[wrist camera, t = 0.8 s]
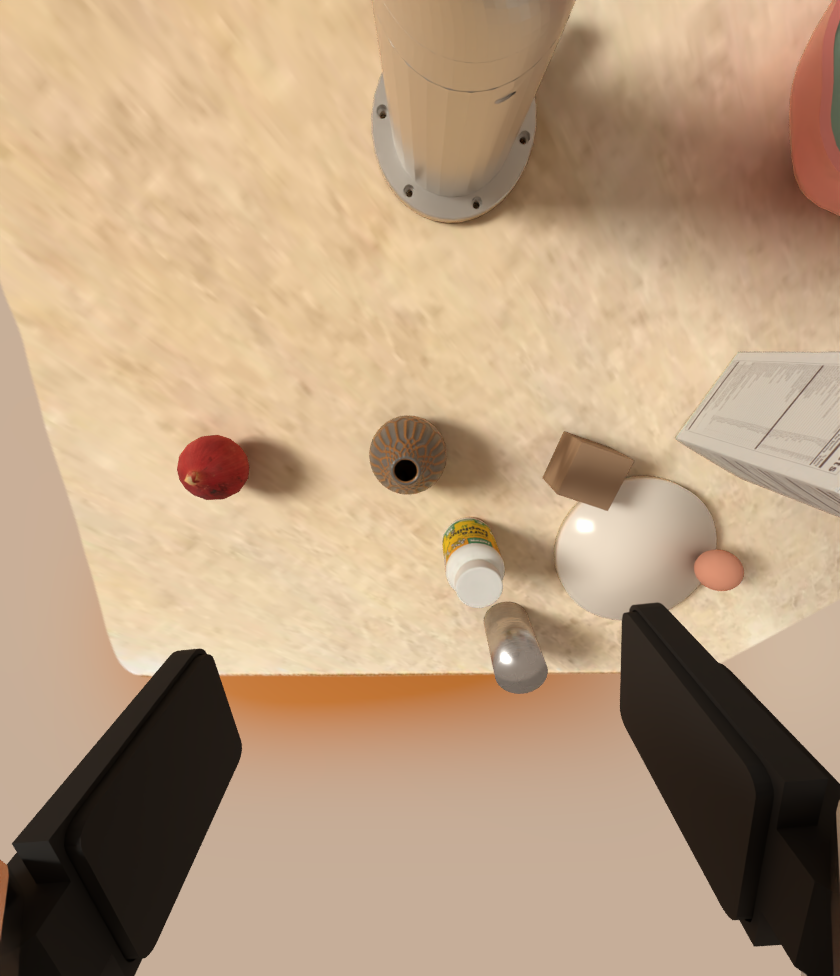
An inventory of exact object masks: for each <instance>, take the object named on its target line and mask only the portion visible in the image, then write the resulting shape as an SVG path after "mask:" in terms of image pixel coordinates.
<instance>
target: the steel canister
mask: <svg viewBox="0 0 840 976" xmlns="http://www.w3.org/2000/svg"><path fill="white" fill-rule="evenodd" d="M484 627H485V632H486V636H487V641H488V646H489V651H490V655H491V660H492V665H493V669H494V674H495V679H496V681H497V683H498V684H499V686H500V687H501V688H503V689H504V690H506V691H508V692H511V693H517V694H521V693H528V692H531V691H533V690H535V689H537V688H538V687H540V686H541V685H542V684H543V683H544V681H545V679H546V677H547V673H548V669H547V665H546V662H545V660H544V657H543V654H542V652H541V649H540V647H539V644H538V641H537V639H536V636H535V633H534V631H533V628H532V626H531V623H530V620H529V618H528V615H527V613H526V611H525V610H524V608H523V607H521V606H520V605H518V604H516V603H513V602H501V603H498V604H496V605H494V606H492V607H491V608H490V609H489V610H488V611H487V612H486V614H485V617H484Z"/></svg>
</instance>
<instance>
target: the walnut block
mask: <svg viewBox="0 0 840 976" xmlns="http://www.w3.org/2000/svg"><path fill="white" fill-rule="evenodd" d="M633 462H634V460H632V459H630V458H629V457H627V456H625V455H623V454H621V453H619V452H618V451H616V450H614V449H612V448H610V447H607V446H604V445H601V444H599V443H596V442H593V441H590V440H587V439H585V438H582V437H579V436H576V435H573V434H570V433H568V432H565V431H564V432H563V434H562V437H561V439H560V441H559V443H558V445H557V447H556V450H555V452H554V454H553V456H552V458H551V461H550V463H549V465H548V467H547V469H546V471H545V474H544V476H543V479H544V480H545V481H546V482H547V483H548V485H549V486H550V487H551V488H552V489H553V490H554V491H555V492H556V493H557V494H558V495H561V496H564V497H567V498H570V499H573V500H576V501H579V502H582V503H585V504H588V505H591V506H594V507H597V508H600V509H603V510H605V511H608V510H609V508H610V506H611V504H612V502H613V500H614V499H615V497H616V495H617V493H618V491H619V489H620V487H621V485H622V483H623V481H624V479H625V478H626V476H627V474H628V472H629V470H630V468H631V466H632V464H633Z"/></svg>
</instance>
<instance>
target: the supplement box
mask: <svg viewBox="0 0 840 976" xmlns="http://www.w3.org/2000/svg"><path fill="white" fill-rule="evenodd" d="M675 439H676V440H677V441H679V442H680V443H682V444H683V445H685V446H687V447H688V448H690V449H691V450H693V451H695V452H696V453H698V454H699V455H701V456H703V457H704V458H706V459H708V460H709V461H711V462H713V463H715V464H716V465H718V466H720V467H721V468H723V469H725V470H726V471H728V472H730V473H732V474H734V475H735V476H737V477H739V478H741V479H743V480H745V481H748V482H751V483H753V484H756V485H759V486H761V487H764V488H766V489H769V490H771V491H774V492H776V493H779V494H782V495H784V496H787V497H789V498H792V499H794V500H797V501H799V502H802V503H805V504H807V505H810V506H812V507H815V508H817V509H820V510H822V511H825V512H828V513H830V514H833V515H835V516H838V517H840V352H835V351H831V352H738V353H737V354H736V355H735V357H734V358H733V359H732V361H731V362H730V364H729V365H728V366H727V368H726V369H725V370H724V372H723V373H722V374H721V376H720V377H719V379H718V380H717V381H716V383H715V384H714V385H713V387H712V388H711V389H710V391H709V392H708V394H707V395H706V396H705V398H704V399H703V400H702V402H701V403H700V404H699V406H698V407H697V409H696V410H695V411H694V413H693V414H692V415H691V417H690V418H689V419H688V421H687V422H686V424H685V425H684V426H683V428H682V429H681V430H680V432H679V433H678V434H677V436H676V437H675Z"/></svg>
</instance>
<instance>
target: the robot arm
mask: <svg viewBox="0 0 840 976" xmlns="http://www.w3.org/2000/svg"><path fill="white" fill-rule="evenodd" d="M575 1H576V0H372V7H373V13H374V20H375V26H376V33H377V39H378V46H379V52H380V59H381V65H382V74H381V76H380V78H379V81H378V85H377V88H376V91H375V95H374V100H373V108H372V138H373V143H374V149H375V154H376V157H377V160H378V164H379V167H380V169H381V171H382V173H383V176H384V178H385V180H386V182H387V183H388V185H389V186H390V188H391V189H392V191H393V192H394V194H395V195H396V196H397V197H398V198H399V199H400V200H401V201H402V202H403V203H404V204H405V205H406V206H407V207H408V208H410V209H411V210H413V211H414V212H416V213H417V214H419V215H421V216H423V217H426V218H428V219H431V220H434V221H439V222H445V223H453V222H463V221H467V220H471V219H475V218H477V217H479V216H481V215H483V214H485V213H487V212H489V211H490V210H491V209H493V208H494V207H495V206H497V205H498V204H499V203H500V202H502V201H503V199H504V198H505V197H506V196H507V195H508V194H509V193H510V191H511V190H512V189H513V188H514V186H515V184H516V183H517V181H518V180H519V178H520V176H521V175H522V173H523V171H524V168H525V166H526V164H527V162H528V159H529V156H530V153H531V150H532V147H533V143H534V137H535V131H536V101H535V94H536V92H537V90H538V87H539V85H540V83H541V80H542V78H543V76H544V73H545V71H546V69H547V67H548V64H549V62H550V60H551V57H552V55H553V53H554V51H555V48H556V46H557V44H558V41H559V39H560V37H561V34H562V32H563V30H564V28H565V25H566V23H567V21H568V18H569V16H570V13H571V11H572V9H573V6H574V4H575ZM382 114H385V115H386V117H385V118H383V119H381V118H380V116H381V115H382ZM521 139H523V140H524V141H525V144H521V143H520V141H519V140H521ZM408 191H410V192H412V193H413V194H412V196H411V197H408V196H407V195H406V194H407V192H408ZM474 203H477V204H478V205H479V208H478V209H475V208H474V207H473V204H474ZM620 685H621V686H620V712H621V716H622V720H623V723H624V726H625V728H626V729H627V731H628V733H629V735H630V737H631V739H632V741H633V743H634V744H635V746H636V748H637V750H638V752H639V754H640V756H641V758H642V759H643V761H644V763H645V765H646V767H647V769H648V770H649V772H650V774H651V776H652V778H653V780H654V782H655V784H656V785H657V787H658V789H659V791H660V793H661V795H662V797H663V798H664V800H665V802H666V804H667V806H668V808H669V810H670V811H671V813H672V815H673V817H674V819H675V821H676V823H677V824H678V826H679V828H680V830H681V832H682V834H683V836H684V838H685V839H686V841H687V843H688V845H689V847H690V849H691V851H692V852H693V854H694V856H695V858H696V860H697V862H698V864H699V865H700V867H701V869H702V871H703V873H704V875H705V876H706V878H707V880H708V882H709V884H710V886H711V888H712V890H713V892H714V893H715V895H716V897H717V899H718V901H719V903H720V905H721V906H722V908H723V910H724V911H725V913H726V914H727V915H728V916H729V917H730V918H731V919H732V920H740V922H741V924H742V926H743V927H744V929H745V931H746V933H747V934H748V936H749V938H750V940H751V942H752V943H753V945H754V946H768V945H769V946H770V945H782V946H783V948H784V950H785V951H786V953H787V955H788V956H789V958H790V960H791V961H792V963H793V965H794V966H795V967H796V968H798V969H799V970H800V971H801V976H840V784H839V783H838V782H837V781H836V779H835V778H834V777H833V776H832V775H831V774H830V773H829V772H828V771H827V770H826V769H825V768H824V767H823V766H822V765H821V764H820V763H819V762H818V761H817V760H816V759H815V758H814V757H813V756H812V755H811V754H810V753H809V752H808V751H807V749H806V748H805V747H804V746H803V745H802V744H801V743H800V742H799V741H798V740H797V739H796V738H795V737H794V736H793V735H792V734H791V733H790V732H789V731H788V730H787V729H786V728H785V727H784V726H783V725H782V724H781V723H780V722H779V721H778V719H776V717H775V716H774V715H773V714H772V713H771V712H770V711H769V710H768V709H767V708H766V707H765V706H764V705H763V704H762V703H761V702H760V701H759V700H758V699H757V698H756V697H755V696H754V695H753V693H752V692H751V691H750V690H749V689H747V687H746V686H745V685H744V684H743V683H742V682H741V681H740V680H739V679H738V678H737V677H736V676H735V675H734V674H733V673H732V672H731V671H730V670H729V669H728V668H726V667H725V666H724V665H723V664H720V663H718V662H717V661H716V660H715V659H714V658H713V657H712V656H711V655H710V654H709V653H708V652H707V650H706V649H705V648H704V647H703V646H702V645H701V644H700V643H699V642H698V641H697V640H696V639H695V638H694V637H693V636H692V635H691V634H690V633H689V632H688V630H687V629H686V628H685V627H684V626H683V625H682V624H681V623H680V622H679V621H678V620H677V619H676V618H675V617H674V616H673V615H672V614H671V613H670V612H669V610H668V609H667V608H666V607H665V606H664V605H662V604H661V603H658V602H656V603H646V604H637V605H632V606H631V607H630V609H629V612H626V613H623V616H622V642H621V684H620ZM241 751H242V743H241V739H240V737H239V733H238V730H237V728H236V724H235V721H234V719H233V716H232V712H231V709H230V707H229V704H228V701H227V697H226V694H225V691H224V688H223V685H222V682H221V680H220V676H219V673H218V670H217V667H216V664H215V661H214V659H213V657H212V656H211V655H209V654H207V653H206V652H205V651H204V650H203V649H191V650H181V651H176V652H174V653H173V654H171V655H170V657H169V658H168V659H167V660H166V661H165V662H164V664H163V665H162V666H161V667H160V668H159V670H158V671H157V672H156V673H155V674H154V676H153V677H152V678H151V679H150V680H149V682H148V683H147V684H146V685H145V686H144V688H143V689H142V690H141V691H140V692H139V693H138V695H137V696H136V697H135V698H134V699H133V700H132V702H131V703H130V704H129V705H128V706H127V708H126V709H125V710H124V711H123V712H122V714H121V715H120V716H119V717H118V718H117V719H116V721H115V722H114V723H113V724H112V726H111V727H110V728H109V729H108V730H107V731H106V733H105V734H104V735H103V736H102V737H101V739H100V740H99V741H98V742H97V744H96V745H95V746H94V747H93V748H92V749H91V750H90V752H89V753H88V754H87V755H86V756H85V758H84V759H83V760H82V761H81V762H80V763H79V765H78V766H77V767H76V768H75V769H74V771H73V772H72V773H71V774H70V775H69V777H68V778H67V779H66V780H65V781H64V782H63V784H62V785H61V786H60V787H59V788H58V790H57V791H56V792H55V793H54V794H53V795H52V797H51V798H50V799H49V800H48V801H47V803H46V804H45V805H44V806H43V807H42V809H41V810H40V811H39V812H38V813H37V814H36V816H35V817H34V818H33V820H31V822H30V823H29V824H28V825H27V826H26V828H25V829H24V830H23V831H22V832H21V834H20V835H19V836H18V837H17V838H16V839H15V841H14V842H13V843H12V845H13V846H14V848H15V850H16V851H17V853H16V854H15V855H14V857H13V858H12V859H11V860H10V862H9V863H8V864H5V863H4V862H3V861H1V860H0V976H134V975H135V973H136V971H137V969H138V967H139V965H140V963H141V960H142V958H146V957H147V956H148V955H149V954H150V953H151V951H152V950H153V948H154V947H155V945H156V943H157V941H158V938H159V936H160V934H161V932H162V929H163V927H164V925H165V923H166V921H167V919H168V916H169V914H170V912H171V910H172V907H173V905H174V903H175V901H176V899H177V897H178V894H179V892H180V890H181V888H182V886H183V883H184V881H185V879H186V877H187V875H188V872H189V870H190V868H191V866H192V864H193V862H194V859H195V857H196V855H197V853H198V850H199V848H200V846H201V844H202V842H203V840H204V837H205V835H206V833H207V831H208V829H209V826H210V824H211V822H212V820H213V817H214V815H215V813H216V811H217V809H218V807H219V804H220V802H221V800H222V798H223V795H224V793H225V791H226V789H227V787H228V785H229V782H230V780H231V778H232V776H233V773H234V771H235V769H236V767H237V765H238V763H239V760H240V757H241Z"/></svg>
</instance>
